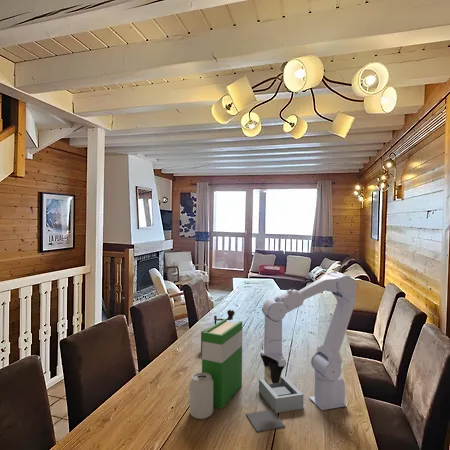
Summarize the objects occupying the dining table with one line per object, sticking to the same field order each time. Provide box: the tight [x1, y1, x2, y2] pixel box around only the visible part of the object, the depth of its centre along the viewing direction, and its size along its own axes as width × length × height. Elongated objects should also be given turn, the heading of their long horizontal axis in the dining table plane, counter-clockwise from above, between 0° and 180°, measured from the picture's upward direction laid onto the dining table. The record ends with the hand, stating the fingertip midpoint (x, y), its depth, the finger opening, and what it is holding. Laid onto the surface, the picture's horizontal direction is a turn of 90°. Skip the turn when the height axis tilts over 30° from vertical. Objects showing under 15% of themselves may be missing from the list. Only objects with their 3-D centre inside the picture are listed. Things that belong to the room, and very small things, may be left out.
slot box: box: [258, 375, 305, 414], centre depth 114 cm, size 10×14×5 cm
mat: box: [245, 409, 286, 433], centre depth 101 cm, size 9×9×1 cm
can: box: [189, 372, 214, 420], centre depth 105 cm, size 8×8×12 cm
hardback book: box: [201, 318, 243, 410], centre depth 117 cm, size 18×7×24 cm, turn 155°
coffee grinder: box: [200, 309, 235, 352], centre depth 160 cm, size 16×11×18 cm
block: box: [263, 366, 282, 384], centre depth 107 cm, size 4×4×4 cm
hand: (272, 379), depth 107 cm, fingers closed on block, 4 cm apart
